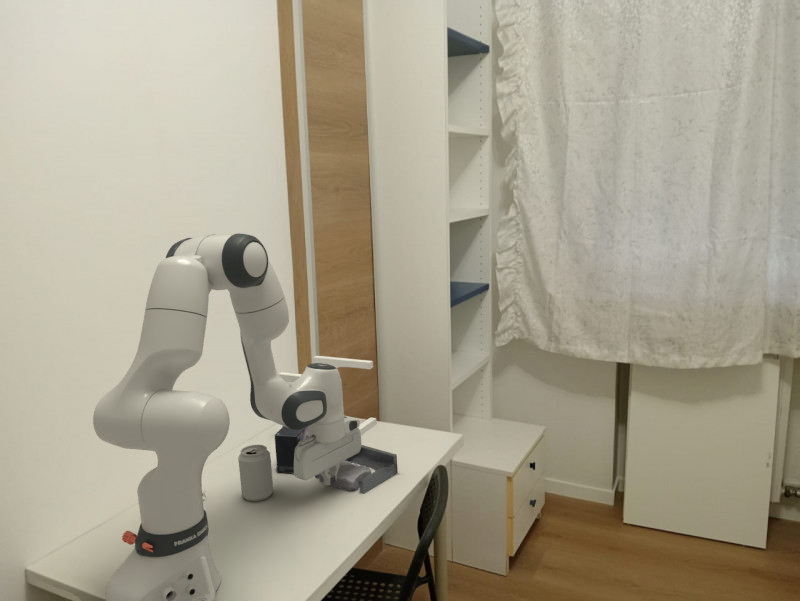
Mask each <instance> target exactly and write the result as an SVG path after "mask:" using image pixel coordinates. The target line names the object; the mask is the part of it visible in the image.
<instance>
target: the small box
mask: <svg viewBox="0 0 800 601" xmlns="http://www.w3.org/2000/svg"><path fill="white" fill-rule="evenodd" d="M308 437H309V436H308V427H305V428H303V429H300V430H293V429H289V428H287V427H285V426H283V427H282V426H281V428H280V429H279V430H278V431H277V432H276V433H275V434H274V444H275V459H276V473H277V474H279V473H283V474H294V454H295V448H296V446H297V445H298V443H299V442H300V441H301V440H304V439H306V438H308Z"/></svg>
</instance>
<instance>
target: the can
mask: <svg viewBox="0 0 800 601" xmlns="http://www.w3.org/2000/svg"><path fill="white" fill-rule="evenodd" d="M239 453H240V454H239V455H238V457H237V459H238V468H239V469H238V470H239V479H240V490H241V496H242V498H244V499H245V500H247V501H249V502H261V501H264V500H266V499H268V498H269V497H270V496H271V495H272V494H273V492H274V483H273V480H274V479H273V472H272V471H273V470H272V469H273V468H272V460H271V452H270V451H269V450H268V448H267V446H265V445H263V444H251V445H247V446H245V447H242V448H241V449H240V452H239Z"/></svg>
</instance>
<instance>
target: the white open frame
mask: <svg viewBox="0 0 800 601" xmlns="http://www.w3.org/2000/svg"><path fill="white" fill-rule="evenodd" d="M312 359H313V363H322V364H329V365H332V366H334V367H336V368H337V369H338V368H354V369H363V370H372V369H373V368H374V361H373V360H367V359H356V358H355V359H354V358H346V357H337V356H336V357H335V356H334V357H333V356H323V355H314V356H313V357H312ZM313 363H312V364H313ZM302 374H303V373H293V372H284V371H281V372H278V375H279V376H280V377H281V378H282V379H283V380H285V381H286V382H288V383H293V382H294V381H296V380H297V379H298V378H299V377H300V376H301V375H302ZM341 383H343V382H342V380H341ZM342 410H343V412H344V402H343V401H342ZM344 413H345V412H344ZM375 426H377V417H369V418H368V419H366V420H365V421H363V422H362V423H360V426H359V427H358V428H359V430H360V433H361V436H362V435H364V434H365V433H367V432H368V431H369V430H371V429H372V428H373V427H375ZM282 427H283V426H282V425H281V428H282Z"/></svg>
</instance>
